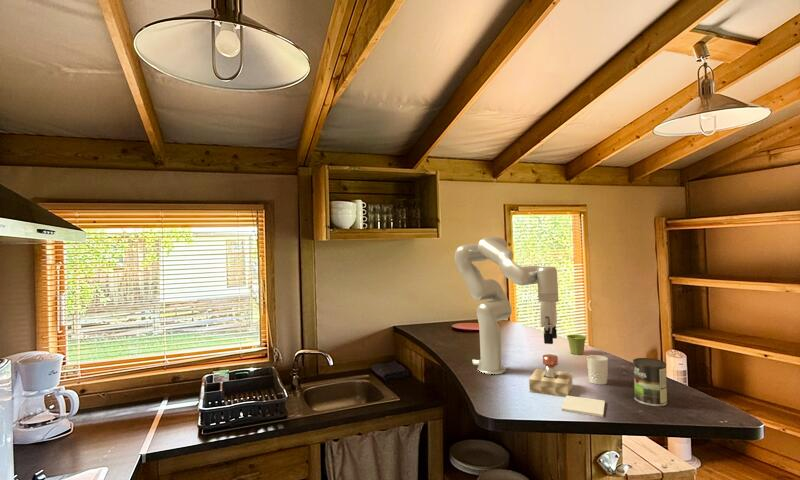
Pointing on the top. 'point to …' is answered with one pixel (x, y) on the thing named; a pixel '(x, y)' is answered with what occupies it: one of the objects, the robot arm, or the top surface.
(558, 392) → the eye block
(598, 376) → the white cup
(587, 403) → the pad
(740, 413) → the top surface
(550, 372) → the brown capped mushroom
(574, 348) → the plant pot
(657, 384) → the coffee can
